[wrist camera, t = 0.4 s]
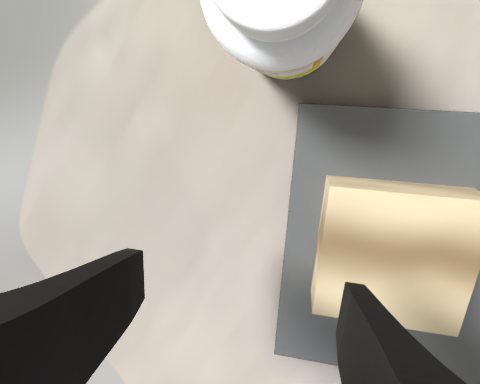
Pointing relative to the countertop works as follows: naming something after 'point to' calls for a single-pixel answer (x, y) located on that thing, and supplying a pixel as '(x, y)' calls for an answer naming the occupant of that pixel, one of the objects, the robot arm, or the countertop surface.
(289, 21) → the supplement bottle
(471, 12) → the countertop surface
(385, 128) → the board
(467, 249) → the cream beveled panel
